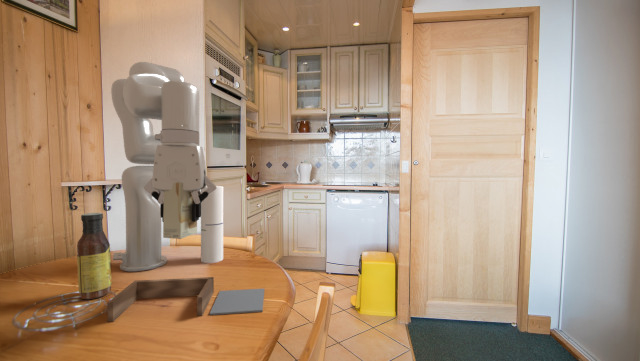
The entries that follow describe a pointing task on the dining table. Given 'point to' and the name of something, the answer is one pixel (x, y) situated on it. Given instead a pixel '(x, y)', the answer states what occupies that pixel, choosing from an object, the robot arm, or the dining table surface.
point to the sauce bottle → (93, 258)
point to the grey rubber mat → (238, 302)
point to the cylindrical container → (212, 226)
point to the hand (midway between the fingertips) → (181, 220)
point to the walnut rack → (162, 293)
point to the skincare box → (178, 213)
